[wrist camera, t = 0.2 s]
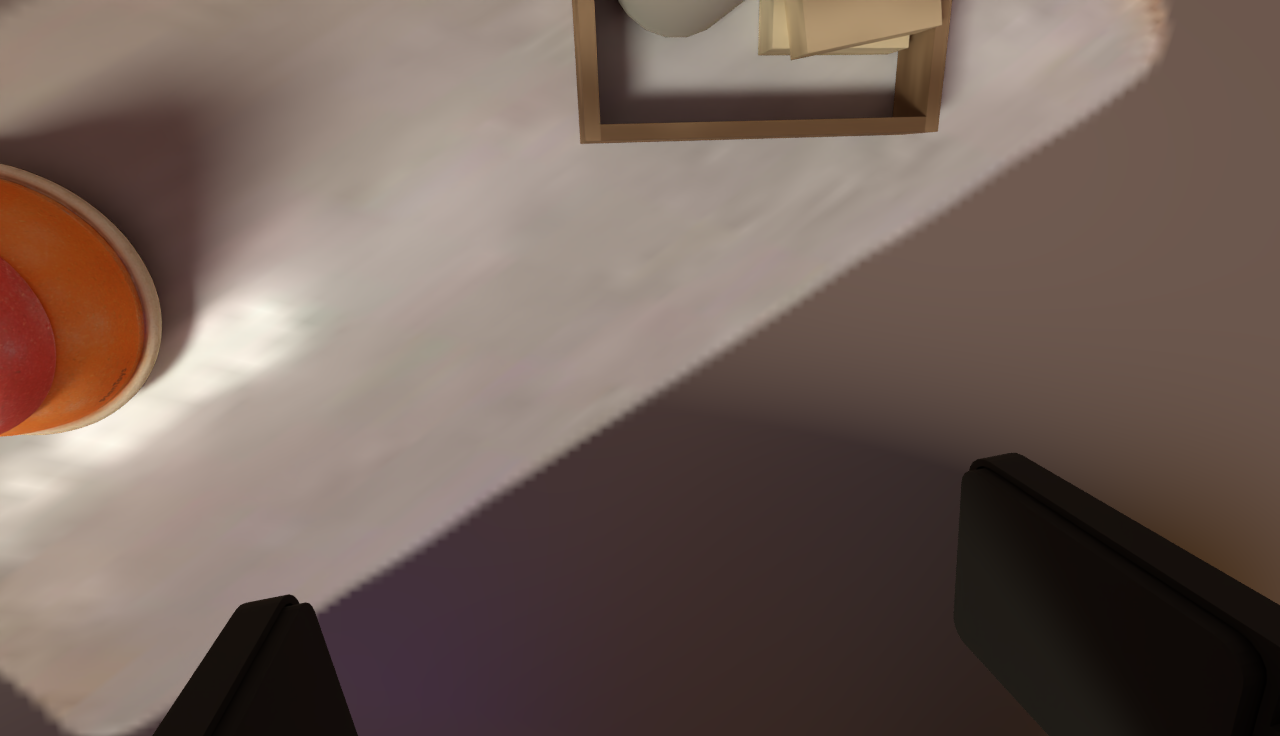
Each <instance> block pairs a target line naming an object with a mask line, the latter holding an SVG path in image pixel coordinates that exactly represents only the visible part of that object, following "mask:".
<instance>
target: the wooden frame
mask: <svg viewBox="0 0 1280 736" xmlns="http://www.w3.org/2000/svg"><path fill="white" fill-rule="evenodd" d="M951 6H952V0H941V9H942V25H940V26H937V27H935V28H932V29H929V30H926V31H923V32H920V33H917V34H912V35H909V46H908V48H906V49H903V50H900V51H898V60H897V72H896V83H895V94H894V106H893V117H891V118H849V119H808V120H766V121H725V122H683V123H641V124H600V108H599V88H598V67H597V46H596V26H595V5H594V0H572V7H573V24H574V41H575V58H576V75H577V92H578V109H579V127H580V144H589V143H624V142H659V141H694V140H729V139H764V138H799V137H834V136H869V135H903V134H915V133H926V132H938V124H939V115H940V106H941V97H942V88H943V79H944V69H945V60H946V51H947V42H948V33H949V24H950V15H951Z"/></svg>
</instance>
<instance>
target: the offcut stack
mask: <svg viewBox="0 0 1280 736" xmlns="http://www.w3.org/2000/svg"><path fill="white" fill-rule="evenodd" d="M940 25H942V9H941V0H760V6H759V46H758V55H790V56H791V60H794V59H799V58H804V57H809V56H813V55H872V54H890V53H893V52H896V51H900V50H903V49H906V48H908V46H909V35H912V34H917V33H920V32H923V31H926V30H929V29H932V28H935V27H937V26H940Z"/></svg>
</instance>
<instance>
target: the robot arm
mask: <svg viewBox="0 0 1280 736" xmlns="http://www.w3.org/2000/svg"><path fill="white" fill-rule="evenodd" d="M954 623H955V627H956V630H957V632H958V634H959V636H960V638H961V639H962V641H963V642H964V643H965V645H966V646H967V647H968V648H969V649H970V650H971V651H972V652H973V653H974V654H975V656H976V657H977V658H978V659H979V660H980V661H981V662H982V663H983V664H984V665H985V667H986V668H988V670H989V671H990V672H991V673H992V674H993V675H994V676H995V677H996V679H997V680H998V681H999V682H1000V683H1001V684H1002V685H1003V686H1004V687H1005V688H1006V689H1007V690H1008V692H1009V693H1010V694H1011V695H1012V696H1013V697H1014V698H1015V699H1016V700H1017V701H1018V703H1019V704H1020V705H1021V706H1022V707H1023V708H1024V709H1025V710H1026V711H1027V712H1028V713H1029V715H1030V716H1031V717H1032V718H1033V719H1034V720H1035V721H1036V722H1037V723H1038V724H1039V725H1040V727H1042V729H1043V730H1044V731H1045V732H1046V733H1047V734H1048V735H1049V736H1280V605H1278V604H1277V603H1275V602H1273V601H1271V600H1270V599H1268V598H1266V597H1265V596H1263V595H1261V594H1260V593H1258V592H1256V591H1254V590H1253V589H1251V588H1249V587H1247V586H1246V585H1244V584H1242V583H1241V582H1239V581H1237V580H1235V579H1234V578H1232V577H1230V576H1229V575H1227V574H1225V573H1223V572H1222V571H1220V570H1218V569H1217V568H1215V567H1213V566H1211V565H1210V564H1208V563H1206V562H1204V561H1203V560H1201V559H1199V558H1198V557H1196V556H1194V555H1192V554H1190V553H1189V552H1187V551H1186V550H1184V549H1182V548H1180V547H1179V546H1177V545H1175V544H1174V543H1172V542H1170V541H1168V540H1167V539H1165V538H1163V537H1162V536H1160V535H1158V534H1156V533H1155V532H1153V531H1151V530H1150V529H1148V528H1146V527H1144V526H1143V525H1141V524H1139V523H1138V522H1136V521H1134V520H1132V519H1131V518H1129V517H1127V516H1126V515H1124V514H1122V513H1120V512H1119V511H1117V510H1115V509H1114V508H1112V507H1110V506H1108V505H1107V504H1105V503H1103V502H1102V501H1099V500H1098V499H1096V498H1094V497H1093V496H1091V495H1090V494H1088V493H1086V492H1084V491H1083V490H1081V489H1079V488H1078V487H1076V486H1074V485H1072V484H1071V483H1069V482H1067V481H1065V480H1064V479H1062V478H1060V477H1059V476H1057V475H1055V474H1053V473H1052V472H1050V471H1048V470H1046V469H1045V468H1043V467H1041V466H1040V465H1038V464H1036V463H1035V462H1033V461H1031V460H1029V459H1028V458H1026V457H1024V456H1023V455H1020V454H1017V453H1007V454H1002V455H997V456H992V457H987V458H982V459H977V460H976V461H974V462H973V463H972V465H971V466H970V470H969V471H968V472H966V473H965V474H964V476H963V478H962V484H961V501H960V518H959V534H958V550H957V567H956V583H955V600H954ZM153 736H358V735H357V732H356V729H355V726H354V723H353V720H352V718H351V715H350V712H349V709H348V706H347V703H346V700H345V697H344V694H343V692H342V689H341V686H340V683H339V680H338V677H337V674H336V671H335V668H334V666H333V663H332V660H331V657H330V654H329V651H328V649H327V646H326V643H325V640H324V637H323V634H322V631H321V628H320V625H319V622H318V619H317V617H316V614H315V611H314V609H313V607H312V606H311V605H310V604H309V603H301V604H299V602H298V600H297V599H296V598H295V597H294V596H293V595H289V594H288V595H283V596H278V597H273V598H268V599H263V600H258V601H253V602H248V603H244V604H242V605H240V606H239V607H238V608H237V609H236V610H235V612H234V613H233V615H232V616H231V618H230V619H229V621H228V622H227V624H226V625H225V627H224V629H223V630H222V632H221V633H220V635H219V636H218V638H217V639H216V641H215V642H214V644H213V645H212V647H211V648H210V650H209V651H208V653H207V654H206V656H205V657H204V659H203V660H202V662H201V663H200V665H199V666H198V668H197V669H196V671H195V672H194V674H193V675H192V677H191V678H190V680H189V681H188V683H187V684H186V686H185V687H184V689H183V690H182V692H181V693H180V695H179V696H178V698H177V699H176V701H175V702H174V704H173V705H172V707H171V708H170V710H169V711H168V713H167V714H166V716H165V717H164V719H163V721H162V722H161V724H160V725H159V727H158V728H157V730H156V731H155V733H154V734H153Z"/></svg>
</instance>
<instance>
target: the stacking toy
mask: <svg viewBox="0 0 1280 736" xmlns="http://www.w3.org/2000/svg"><path fill="white" fill-rule="evenodd" d="M161 335H162V316H161V308H160V303H159V298H158V295H157V292H156V289H155V286H154V283H153V281H152V278H151V276H150V274H149V272H148V270H147V268H146V266H145V264H144V263H143V261H142V259H141V258H140V256H139V255H138V253H137V252H136V250H135V249H134V247H133V246H132V245H131V243H130V242H129V241H128V239H127V238H126V237H125V236H124V235H123V234H122V232H121V231H120V230H119V229H118V228H117V227H116V226H115V225H114V224H113V223H112V222H111V221H110V220H109V219H108V218H106V217H105V216H104V215H103V214H102V213H101V212H99V211H98V210H97V209H96V208H94V207H93V206H92V205H90V204H89V203H88V202H86V201H85V200H83V199H82V198H80V197H79V196H77V195H76V194H74V193H72V192H71V191H69V190H67V189H65V188H64V187H62V186H60V185H58V184H56V183H54V182H52V181H50V180H47V179H45V178H43V177H40V176H38V175H36V174H33V173H30V172H28V171H25V170H22V169H18V168H15V167H12V166H8V165H4V164H0V436H13V435H47V434H55V433H62V432H66V431H71V430H75V429H79V428H82V427H85V426H88V425H91V424H93V423H96V422H98V421H100V420H102V419H104V418H106V417H107V416H109V415H111V414H112V413H114V412H115V411H117V410H118V409H120V408H121V407H122V406H123V405H125V404H126V403H127V402H128V401H129V400H130V399H131V398H132V397H133V396H134V395H135V394H136V393H137V392H138V391H139V390H140V388H141V387H142V386H143V384H144V383H145V381H146V380H147V378H148V376H149V374H150V373H151V371H152V369H153V367H154V365H155V362H156V359H157V356H158V352H159V348H160V343H161Z"/></svg>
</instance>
